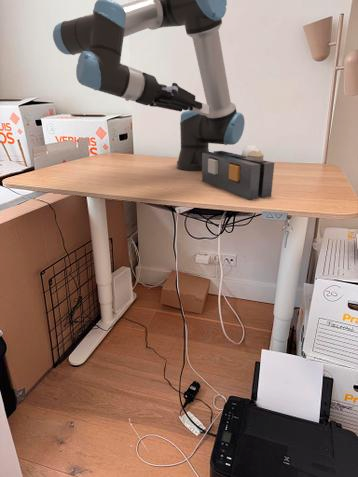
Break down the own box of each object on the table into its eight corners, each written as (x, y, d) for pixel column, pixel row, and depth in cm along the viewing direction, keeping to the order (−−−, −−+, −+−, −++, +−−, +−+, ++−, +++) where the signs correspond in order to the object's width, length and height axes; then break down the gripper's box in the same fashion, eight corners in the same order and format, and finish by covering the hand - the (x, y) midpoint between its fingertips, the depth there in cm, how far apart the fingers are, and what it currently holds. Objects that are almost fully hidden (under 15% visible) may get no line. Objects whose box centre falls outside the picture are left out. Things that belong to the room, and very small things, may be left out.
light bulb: (255, 175, 128) (257, 145, 123) (238, 174, 130) (239, 145, 126) (259, 172, 133) (262, 143, 129) (243, 170, 136) (245, 142, 132)
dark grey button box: (249, 200, 97) (251, 164, 93) (201, 180, 120) (202, 151, 117) (271, 196, 100) (274, 162, 96) (220, 178, 124) (221, 150, 120)
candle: (262, 177, 124) (264, 150, 120) (260, 180, 119) (263, 152, 115) (247, 176, 126) (249, 149, 122) (245, 179, 121) (246, 151, 117)
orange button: (236, 181, 100) (237, 166, 98) (228, 178, 104) (229, 164, 102) (248, 180, 102) (249, 165, 100) (240, 177, 105) (241, 163, 104)
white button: (214, 174, 110) (215, 160, 108) (207, 172, 114) (208, 158, 112) (226, 173, 112) (226, 159, 110) (218, 170, 115) (219, 157, 114)
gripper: (126, 108, 93) (193, 128, 106) (149, 93, 82) (221, 117, 96) (127, 81, 93) (194, 104, 106) (151, 62, 82) (222, 91, 96)
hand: (207, 110), depth 101 cm, fingers closed
